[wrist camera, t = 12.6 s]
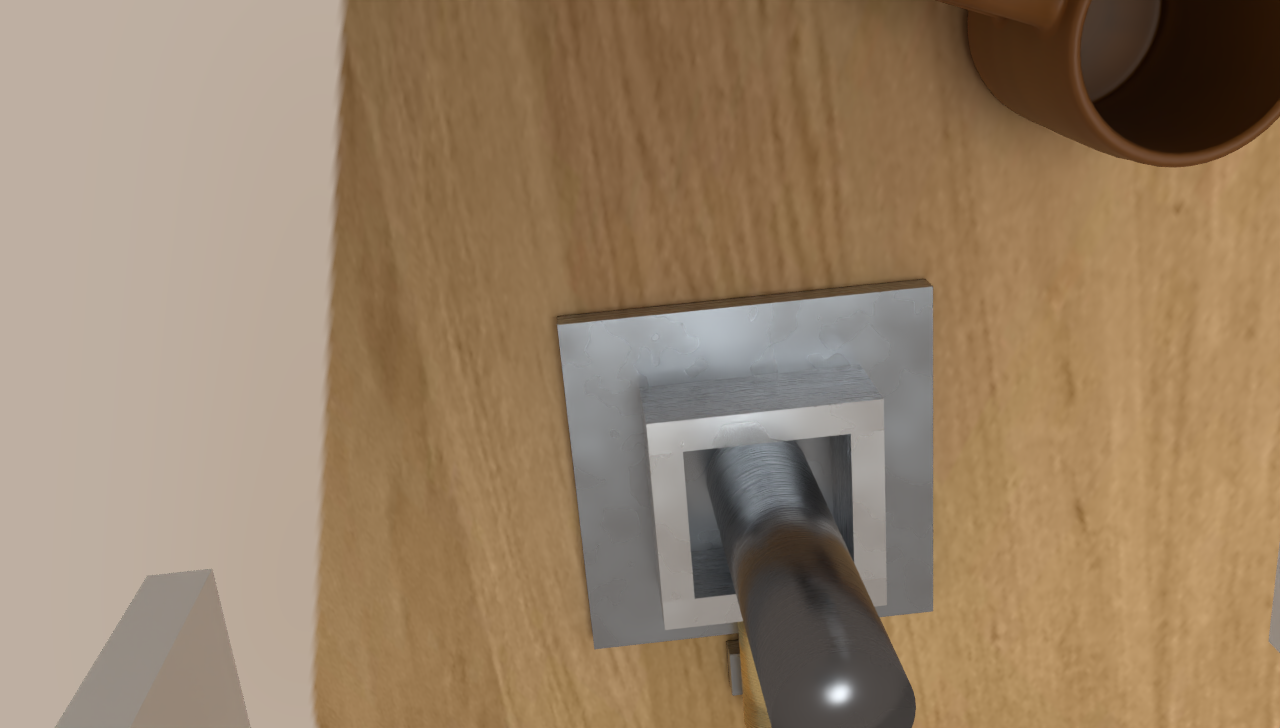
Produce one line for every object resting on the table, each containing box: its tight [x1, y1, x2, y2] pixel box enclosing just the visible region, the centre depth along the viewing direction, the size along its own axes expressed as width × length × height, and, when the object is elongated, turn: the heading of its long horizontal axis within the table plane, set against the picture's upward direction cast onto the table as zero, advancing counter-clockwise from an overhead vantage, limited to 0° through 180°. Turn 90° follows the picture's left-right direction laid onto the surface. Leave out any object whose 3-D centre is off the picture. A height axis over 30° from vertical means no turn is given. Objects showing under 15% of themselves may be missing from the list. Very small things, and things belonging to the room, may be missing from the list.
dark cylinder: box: [706, 440, 916, 728], centre depth 40 cm, size 4×4×15 cm
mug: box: [937, 0, 1280, 167], centre depth 38 cm, size 12×8×9 cm, turn 75°
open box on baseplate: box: [557, 279, 933, 728], centre depth 47 cm, size 18×14×4 cm
